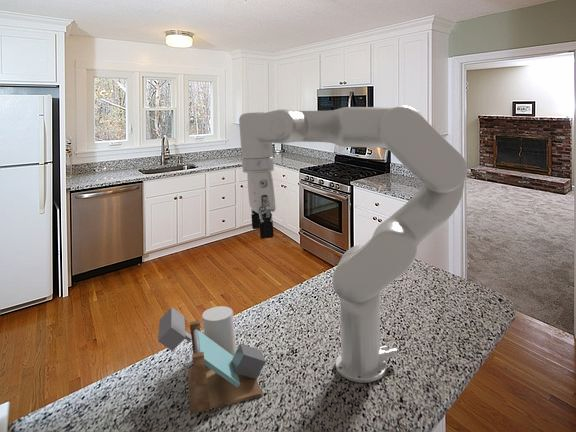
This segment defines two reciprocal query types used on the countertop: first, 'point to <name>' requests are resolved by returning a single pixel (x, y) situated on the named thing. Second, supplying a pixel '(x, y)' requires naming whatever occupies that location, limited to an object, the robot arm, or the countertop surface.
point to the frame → (215, 384)
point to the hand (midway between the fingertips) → (262, 232)
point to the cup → (220, 327)
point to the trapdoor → (196, 345)
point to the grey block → (248, 361)
